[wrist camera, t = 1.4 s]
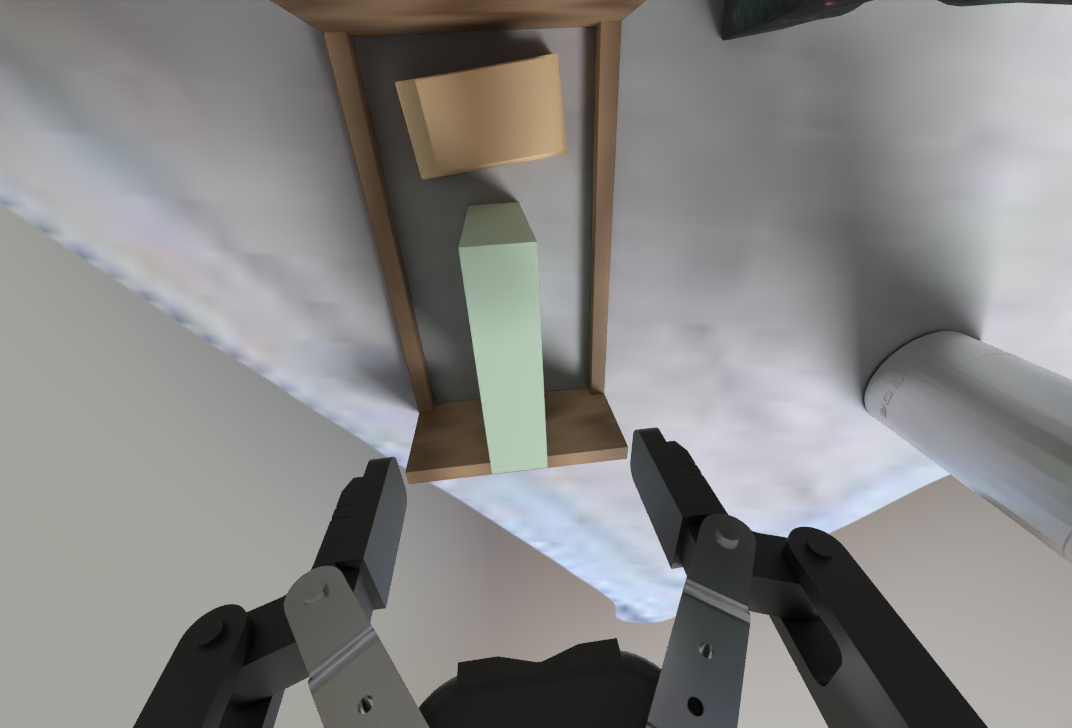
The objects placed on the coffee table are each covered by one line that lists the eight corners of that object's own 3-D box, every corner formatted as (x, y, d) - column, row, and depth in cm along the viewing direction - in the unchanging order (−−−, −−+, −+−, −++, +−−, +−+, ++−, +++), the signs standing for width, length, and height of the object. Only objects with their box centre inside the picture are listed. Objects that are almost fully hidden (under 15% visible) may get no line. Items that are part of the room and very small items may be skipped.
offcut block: (552, 57, 21) (568, 41, 17) (562, 152, 23) (578, 157, 19) (400, 84, 20) (381, 74, 17) (426, 177, 23) (414, 186, 19)
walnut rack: (616, -1, 19) (674, -60, 13) (600, 396, 32) (626, 458, 26) (324, 9, 18) (246, -49, 12) (423, 415, 31) (408, 484, 25)
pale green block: (518, 201, 24) (536, 241, 15) (529, 371, 30) (547, 467, 21) (468, 205, 24) (458, 247, 15) (490, 375, 30) (492, 474, 21)
